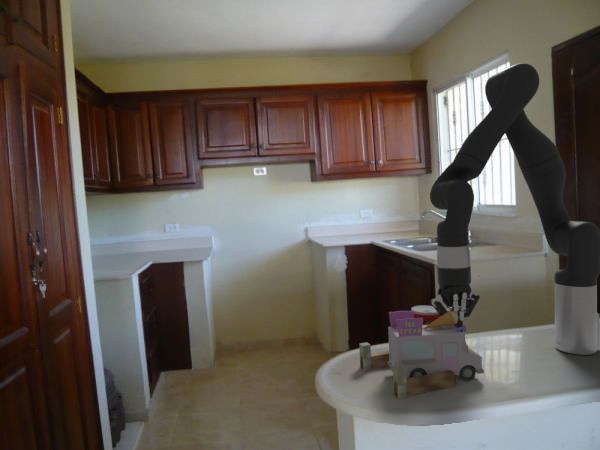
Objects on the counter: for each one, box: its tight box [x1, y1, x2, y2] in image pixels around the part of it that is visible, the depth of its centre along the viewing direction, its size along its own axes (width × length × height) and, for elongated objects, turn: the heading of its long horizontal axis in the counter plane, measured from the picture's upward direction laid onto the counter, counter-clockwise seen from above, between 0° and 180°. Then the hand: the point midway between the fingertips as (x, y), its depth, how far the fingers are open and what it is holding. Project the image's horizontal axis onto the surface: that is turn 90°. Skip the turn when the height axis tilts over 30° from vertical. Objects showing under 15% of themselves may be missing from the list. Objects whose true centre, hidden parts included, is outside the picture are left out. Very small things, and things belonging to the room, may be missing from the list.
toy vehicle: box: [387, 310, 485, 382], centre depth 100 cm, size 9×20×15 cm, turn 93°
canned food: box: [410, 304, 441, 325], centre depth 118 cm, size 8×8×11 cm
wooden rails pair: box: [359, 341, 456, 399], centre depth 101 cm, size 14×18×6 cm
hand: (456, 335), depth 105 cm, fingers closed
